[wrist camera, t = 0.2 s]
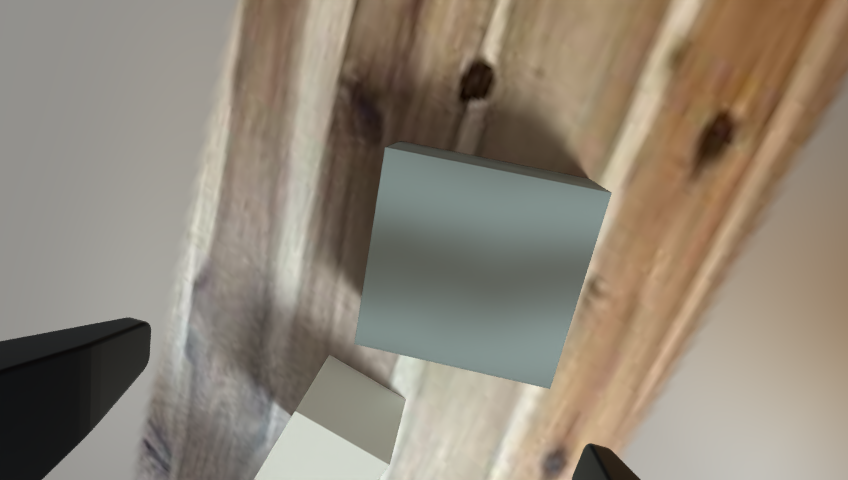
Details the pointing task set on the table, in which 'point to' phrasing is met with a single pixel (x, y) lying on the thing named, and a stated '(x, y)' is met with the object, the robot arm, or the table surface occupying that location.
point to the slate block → (477, 261)
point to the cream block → (337, 429)
